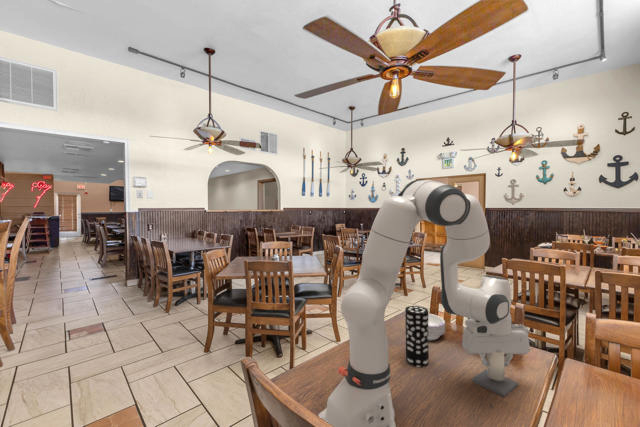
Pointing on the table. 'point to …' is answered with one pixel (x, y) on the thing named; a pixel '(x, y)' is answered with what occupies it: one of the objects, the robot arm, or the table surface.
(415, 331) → the spotted tube
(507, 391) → the plate
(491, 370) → the shaker
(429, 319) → the paper bowls
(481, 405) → the table surface
